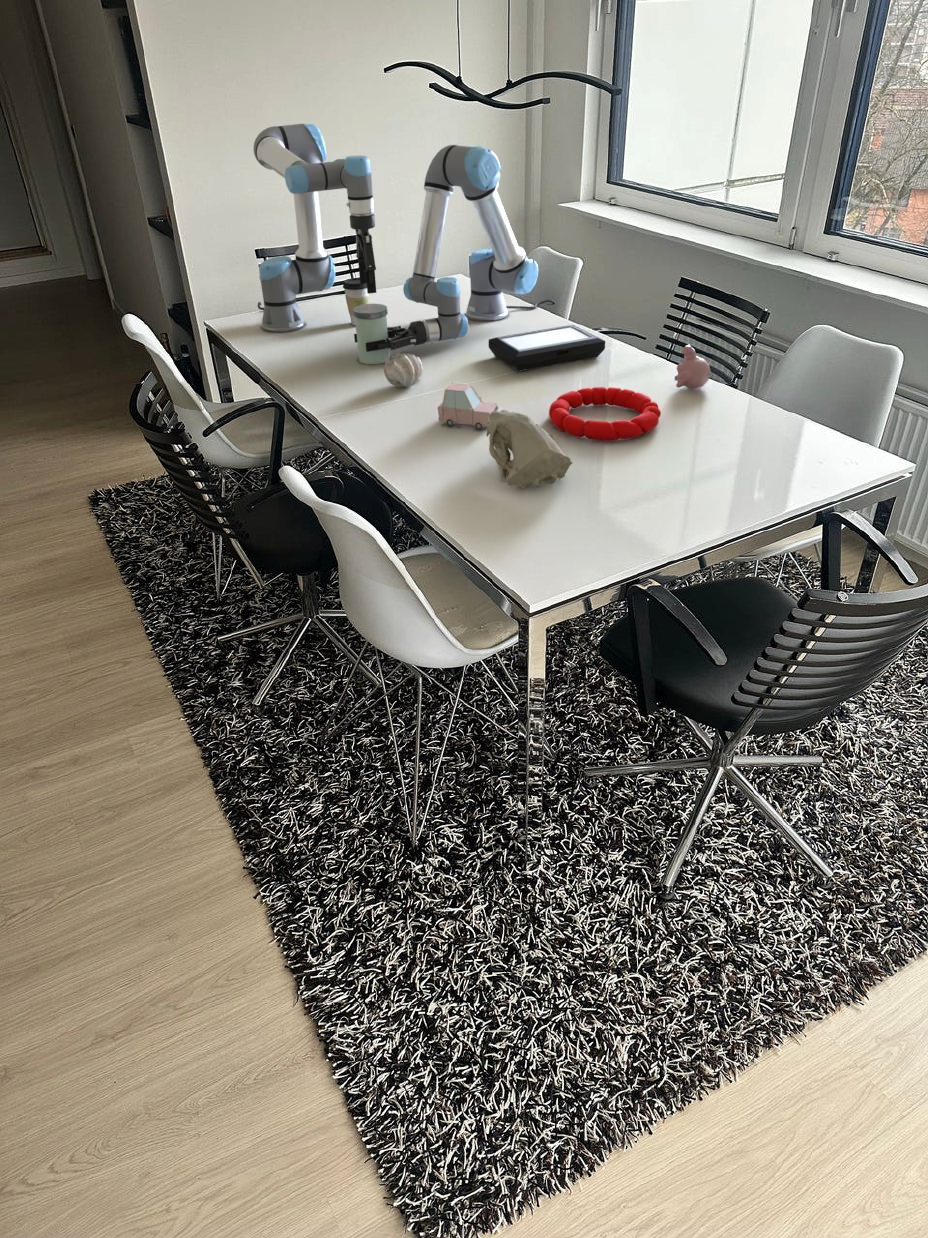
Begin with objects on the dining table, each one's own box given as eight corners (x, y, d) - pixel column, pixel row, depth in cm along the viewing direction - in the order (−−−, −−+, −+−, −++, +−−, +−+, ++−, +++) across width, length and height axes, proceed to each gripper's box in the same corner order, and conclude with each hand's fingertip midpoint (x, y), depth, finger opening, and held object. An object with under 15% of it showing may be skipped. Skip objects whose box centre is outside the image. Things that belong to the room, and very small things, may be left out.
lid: (374, 307, 291) (374, 301, 290) (394, 313, 284) (394, 308, 283) (346, 314, 286) (346, 308, 285) (366, 321, 279) (365, 315, 278)
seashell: (376, 385, 272) (373, 353, 266) (419, 376, 278) (418, 344, 272) (390, 395, 265) (387, 362, 259) (434, 385, 270) (433, 353, 265)
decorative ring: (589, 435, 224) (684, 402, 234) (527, 398, 247) (617, 369, 256) (589, 461, 229) (683, 427, 238) (529, 422, 251) (617, 393, 260)
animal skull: (496, 517, 219) (521, 479, 201) (463, 429, 225) (484, 384, 207) (557, 503, 225) (586, 465, 206) (523, 417, 231) (549, 373, 212)
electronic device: (516, 354, 273) (488, 336, 289) (516, 374, 277) (488, 355, 292) (605, 338, 284) (574, 322, 299) (604, 357, 287) (573, 341, 302)
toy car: (488, 432, 240) (488, 396, 234) (436, 426, 244) (434, 390, 239) (499, 419, 247) (499, 384, 241) (448, 413, 252) (447, 379, 246)
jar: (378, 352, 299) (373, 303, 290) (395, 359, 293) (392, 309, 284) (353, 359, 294) (348, 309, 285) (370, 366, 288) (366, 316, 278)
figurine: (665, 387, 264) (669, 347, 257) (693, 380, 268) (698, 340, 261) (686, 396, 257) (690, 355, 250) (714, 388, 262) (720, 348, 255)
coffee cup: (372, 326, 323) (368, 283, 314) (345, 327, 323) (340, 284, 315) (374, 318, 331) (371, 276, 322) (348, 319, 331) (344, 277, 323)
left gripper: (342, 207, 277) (349, 279, 289) (356, 221, 258) (363, 298, 270) (366, 205, 279) (372, 277, 291) (381, 219, 259) (387, 296, 272)
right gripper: (437, 352, 290) (373, 364, 282) (410, 334, 307) (349, 344, 299) (436, 329, 285) (371, 340, 278) (409, 312, 302) (347, 322, 295)
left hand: (368, 287), depth 280 cm, fingers open, 12 cm apart
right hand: (360, 342), depth 288 cm, fingers closed on jar, 10 cm apart
